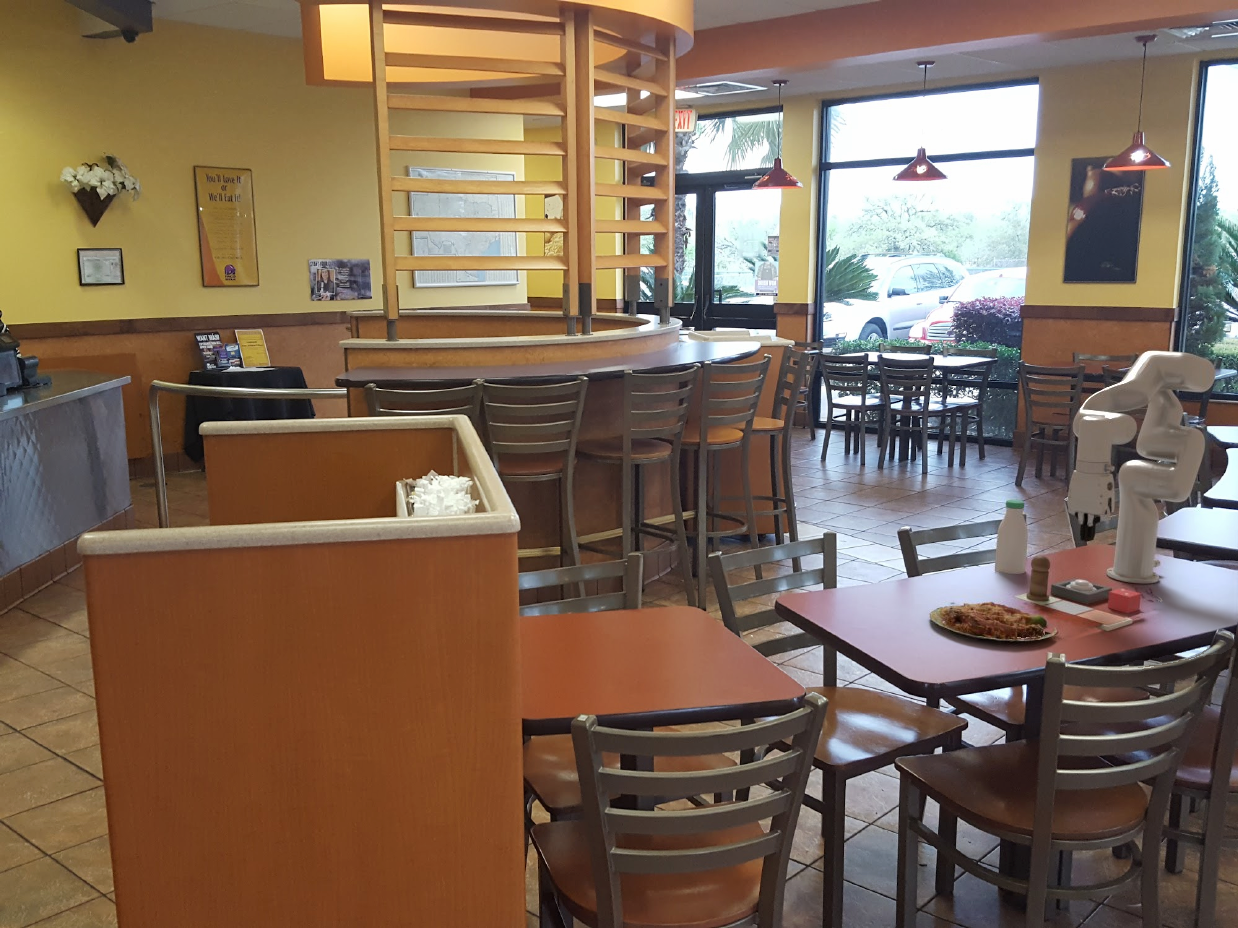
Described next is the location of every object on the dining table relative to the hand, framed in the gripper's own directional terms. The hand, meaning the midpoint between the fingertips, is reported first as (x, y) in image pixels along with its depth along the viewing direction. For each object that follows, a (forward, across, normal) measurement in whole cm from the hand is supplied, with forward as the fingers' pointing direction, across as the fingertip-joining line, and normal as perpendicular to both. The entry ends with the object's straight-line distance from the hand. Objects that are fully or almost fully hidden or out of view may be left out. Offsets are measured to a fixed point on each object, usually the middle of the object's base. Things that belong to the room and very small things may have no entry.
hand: (1086, 540), depth 261 cm
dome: (+13, 0, +1) cm, 13 cm away
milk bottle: (+16, +24, -4) cm, 29 cm away
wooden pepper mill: (+14, +4, +12) cm, 19 cm away
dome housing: (+15, 0, +1) cm, 15 cm away
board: (+15, -4, +12) cm, 19 cm away
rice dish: (+15, -1, +37) cm, 40 cm away
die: (+15, -12, +2) cm, 19 cm away
